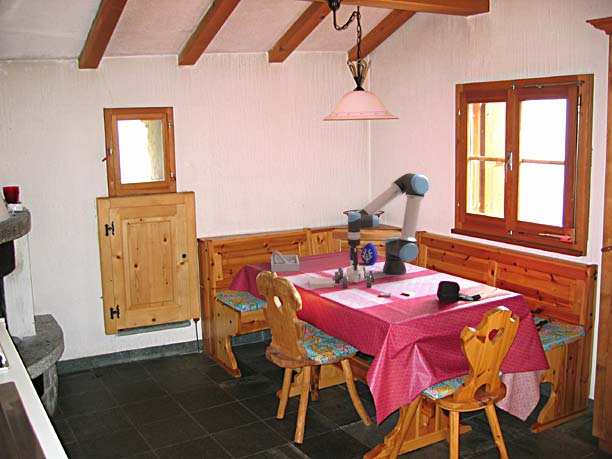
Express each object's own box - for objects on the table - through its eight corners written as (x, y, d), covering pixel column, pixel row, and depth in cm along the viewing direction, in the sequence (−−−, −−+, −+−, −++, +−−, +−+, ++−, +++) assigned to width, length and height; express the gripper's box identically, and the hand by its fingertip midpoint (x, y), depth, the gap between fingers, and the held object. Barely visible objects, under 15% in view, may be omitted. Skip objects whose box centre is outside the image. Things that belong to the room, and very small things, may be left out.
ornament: (359, 264, 473) (359, 243, 470) (365, 262, 480) (365, 241, 478) (374, 266, 467) (374, 244, 464) (380, 263, 475) (380, 242, 472)
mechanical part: (357, 279, 430) (357, 261, 428) (367, 283, 419) (367, 264, 418) (341, 281, 425) (341, 263, 424) (351, 286, 415) (351, 266, 413)
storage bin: (297, 261, 487) (297, 254, 486) (299, 271, 458) (299, 263, 457) (271, 262, 486) (271, 255, 485) (271, 272, 457) (271, 264, 456)
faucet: (296, 263, 464) (280, 243, 473) (283, 270, 459) (267, 249, 469) (294, 276, 475) (278, 255, 484) (281, 282, 470) (265, 262, 480)
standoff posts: (370, 276, 437) (370, 266, 436) (377, 287, 409) (377, 276, 408) (332, 278, 436) (332, 267, 434) (337, 289, 408) (337, 277, 407)
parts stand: (331, 281, 427) (331, 277, 426) (333, 287, 413) (333, 283, 412) (308, 282, 426) (308, 278, 426) (310, 287, 412) (310, 283, 412)
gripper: (345, 235, 430) (345, 268, 433) (350, 242, 405) (350, 277, 409) (357, 235, 431) (357, 268, 434) (363, 242, 406) (362, 277, 409)
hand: (353, 273), depth 421 cm, fingers open, 13 cm apart
